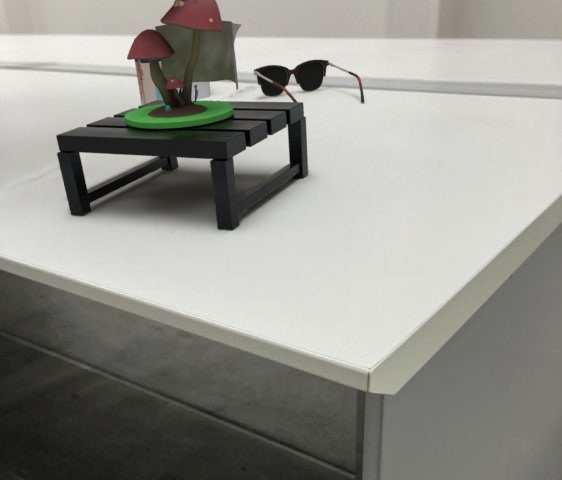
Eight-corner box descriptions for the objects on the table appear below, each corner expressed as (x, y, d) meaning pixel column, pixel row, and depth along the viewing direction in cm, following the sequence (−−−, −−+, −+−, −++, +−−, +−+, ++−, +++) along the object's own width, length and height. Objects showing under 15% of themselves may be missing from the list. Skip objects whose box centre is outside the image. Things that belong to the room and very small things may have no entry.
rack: (70, 215, 67) (52, 136, 63) (167, 166, 81) (157, 99, 77) (232, 230, 60) (223, 143, 56) (308, 174, 74) (305, 101, 70)
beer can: (155, 124, 103) (141, 35, 97) (183, 124, 101) (171, 34, 95) (139, 131, 99) (124, 40, 93) (168, 131, 98) (155, 38, 91)
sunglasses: (327, 88, 120) (327, 57, 117) (372, 108, 108) (373, 74, 105) (254, 98, 116) (252, 67, 113) (292, 120, 104) (291, 85, 101)
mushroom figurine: (203, 134, 59) (179, -70, 52) (95, 127, 65) (58, -58, 57) (271, 108, 68) (259, -71, 60) (170, 103, 74) (147, -61, 66)
